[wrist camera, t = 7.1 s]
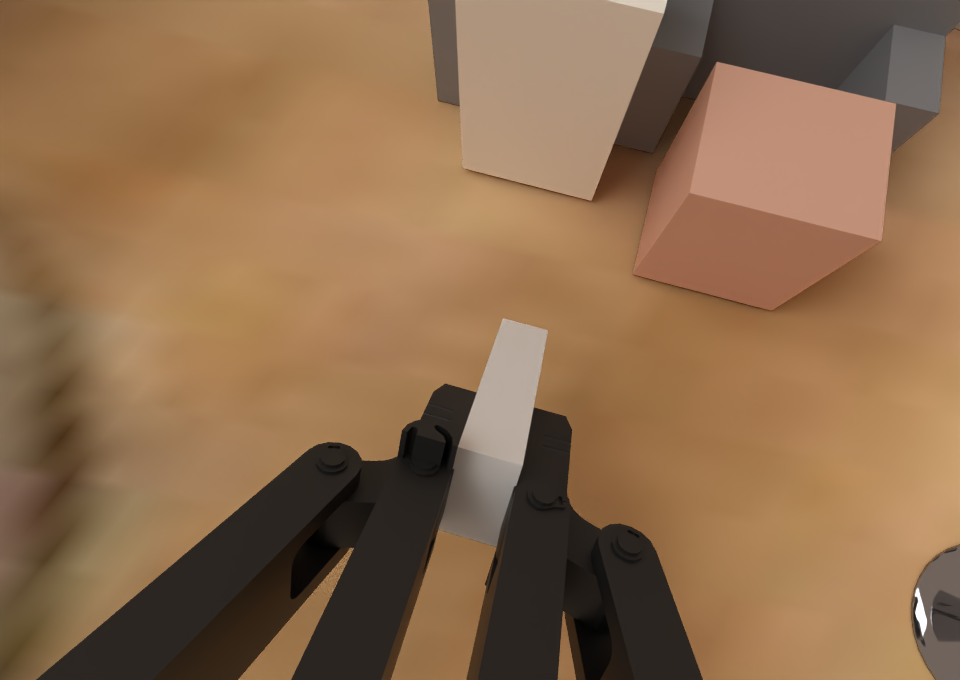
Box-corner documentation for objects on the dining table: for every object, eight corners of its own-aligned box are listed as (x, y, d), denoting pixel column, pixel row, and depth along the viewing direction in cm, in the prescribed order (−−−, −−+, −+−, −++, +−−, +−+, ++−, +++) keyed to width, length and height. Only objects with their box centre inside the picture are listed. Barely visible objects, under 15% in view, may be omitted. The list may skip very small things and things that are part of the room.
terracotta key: (632, 274, 29) (689, 192, 21) (655, 172, 30) (716, 61, 23) (771, 310, 28) (881, 241, 21) (787, 205, 30) (896, 103, 22)
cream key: (462, 168, 30) (453, -35, 19) (492, 76, 32) (501, -164, 20) (591, 200, 30) (663, 13, 18) (615, 106, 31) (697, -122, 20)
